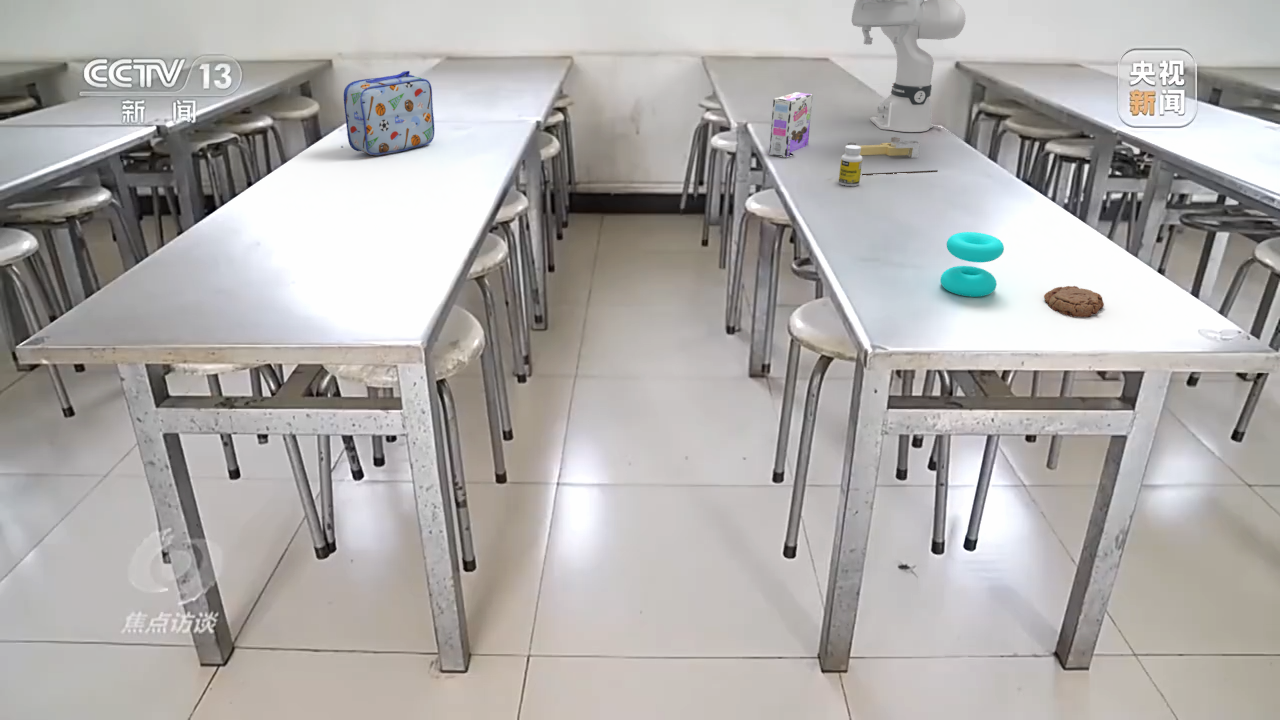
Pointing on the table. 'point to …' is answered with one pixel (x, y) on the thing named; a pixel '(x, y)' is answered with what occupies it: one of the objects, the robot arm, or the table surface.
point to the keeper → (911, 145)
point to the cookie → (1074, 301)
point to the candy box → (790, 123)
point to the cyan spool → (969, 277)
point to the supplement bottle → (850, 166)
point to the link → (881, 149)
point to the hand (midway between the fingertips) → (882, 44)
